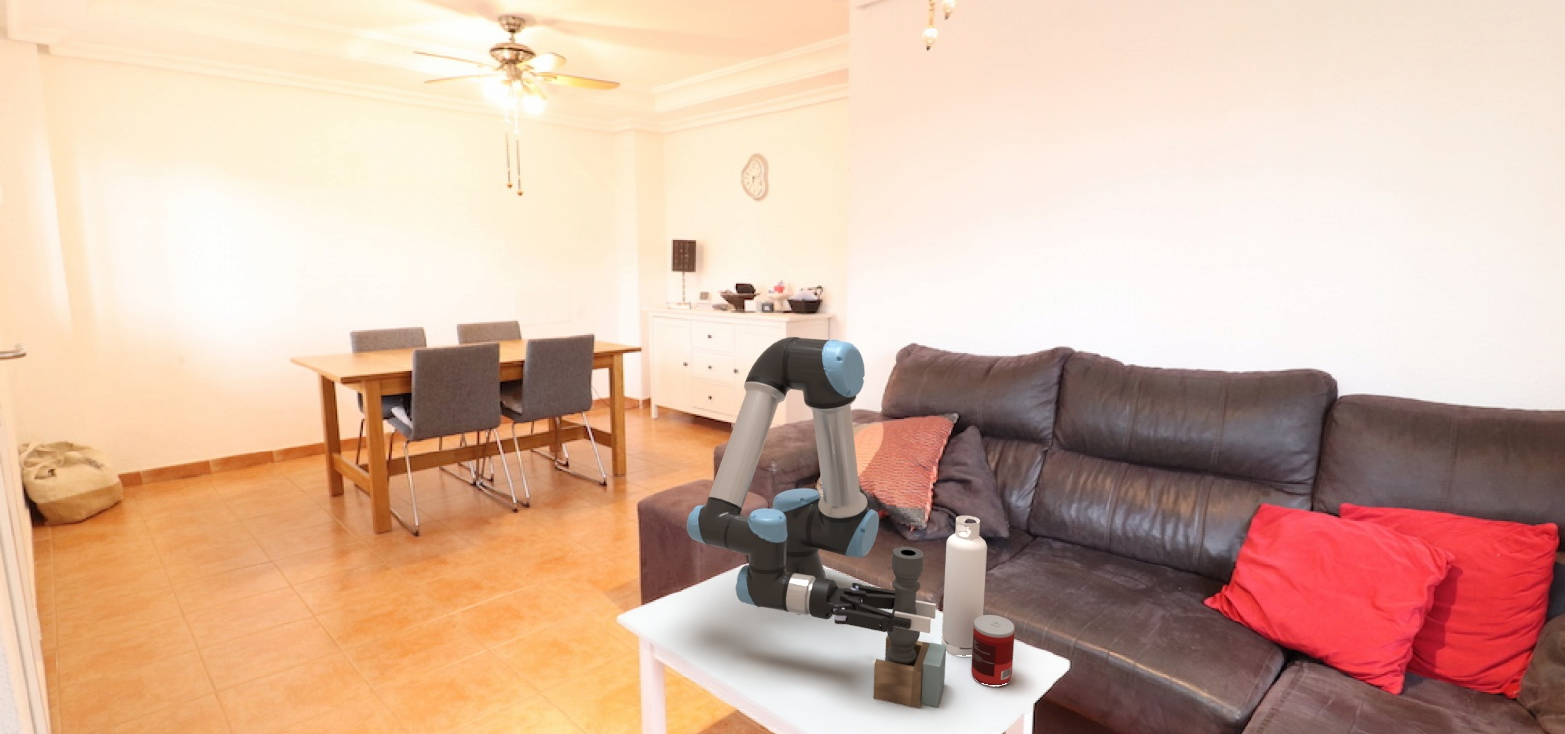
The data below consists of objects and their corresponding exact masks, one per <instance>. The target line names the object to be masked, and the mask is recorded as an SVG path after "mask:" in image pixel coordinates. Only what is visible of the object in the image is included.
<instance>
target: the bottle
mask: <svg viewBox="0 0 1565 734" xmlns="http://www.w3.org/2000/svg"><path fill="white" fill-rule="evenodd" d="M966 520H974V521H975V523H967V522H966ZM980 521H981V520H980V519H979V518H978V517H977V516H972V515H959V516H957V517H955V533H953V534H951V535H950V536H949V537H948V538H947V540H946V543H945V544H946V547H945V567H944V586H943V588H944V589H943V609H942V626H941V627H942V629H941V634H942V636H941V645H946V651H947V652H948V653H947V652H946V653H947V654H949V653H950V655H952V656H954V655H962V656H966V655H972V646H973V628H974V621H975V619H976V618H977V617H979V616H983V615H984V603H985V589H986V588H985V587H986V585H985V584H986V573H987V572H986V570H987V552H988V551H987V550H988V545H987V543H986V540H985V539H983V538H982V536H980V524H981V522H980Z"/></svg>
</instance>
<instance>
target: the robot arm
mask: <svg viewBox="0 0 1565 734" xmlns="http://www.w3.org/2000/svg"><path fill="white" fill-rule="evenodd" d="M865 371H866V370H865V364H864V359H863V355H862V354H861V352H860V351H859V349H858V347H856V346H855V345H854V344H853V343H851V342H848V341H842V340H841V341H840V340H838V339H820V338H819V339H818V338H806V337H799V336H789V337H785V338H781V339H779V340H777V341H775V342H773V343H772V344H771V345H769V346H768V347H767V348H766V349H764V350H763V352H762V353H761V354H760V355H759V356H758V358H757V359H756V360H755V362H754V363H753V365H751V368H750V370H749V372H748V373H747V377H746V379H745V382H744V385H743V388H744V390H745V395H744V398H743V401H742V403H741V406H740V410H739V412H738V414H737V418H736V420H735V421H734V422H735V424H734V426H733V428H732V431H731V434H730V437H729V440H728V442H727V445H726V448H725V450H724V453H723V456H722V459H721V462H720V464H719V468H718V469H717V470H718V471H717V473H716V476H715V478H714V480H713V484H712V487H711V490H710V492H709V496H708V497H707V500H706V503H705V504H703V505H701V504H699V505H696V506H695V507H693V509H692V511H690V513H689V514H688V517H687V520H686V531H687V533H688V536H689V537H690V539H692V540H693V541H696V542H698V543H702V544H704V545H706V546H712V547H716V548H720V549H724V550H729V551H732V552H734V553H739V554H741V555H745V556H748V564H746V565H744V566H742V567H741V568H740V570H739V572H738V574H737V576H736V583H735V593H736V597H737V599H738V600H739V601H740V602H741V603H744V604H748V605H751V606H754V607H757V608H765V609H773V610H778V611H783V612H788V613H793V614H796V615H797V616H801V615H804V616H811V617H812V618H817V619H821V620H830V619H831V618H832V617H833V616H834V624H835V625H848V626H853V627H858V628H862V629H868V630H873V631H877V632H882V633H887V629H888V632H892V631H893V626H894V627H898V628H903V629H909V630H914V631H919V632H920V633H926V634H930V632H931V623H932V622H931V621H932V619H933V620H935V619H936V610H937V609H936V608H937V604H936V603H934V602H927V601H923V600H918V599H916V605H915V607H916V613H917V615H914V614H908V613H903V612H897V611H895V614H894V615H893V613H892V612H890V611H886V610H893V607H894V604H895V589H890V588H889V589H888V588H882V587H876V586H870V585H864V584H861V583H858V582H852V584H851V587H850V588H848V587H844V588H843V587H840V588H839V587H838V585H837V582H836V581H835V580H834V579H831V578H826V573H825V569H824V566H823V562H822V558H821V555H820V553H819V551H820V550H822V551H826V552H830V553H833V554H838V555H843V556H845V557H846V558H848V557H851V558H852V557H853V558H856V559H860V558H861V559H862V558H864V557H865V556H866V555H868V554H869V553H870V551H871V549H872V548H873V545H874V544H875V541H876V537H877V535H878V531H879V525H880V524H879V523H880V518H879V517H880V516H879V513H878V512H877V511H876V510H874V509H869V507H868V499H867V496H866V495H865V494H864V493H862V492H861V490H860V481H859V471H858V462H857V453H856V444H855V435H854V424H853V413H852V404H853V403H855V401H856V399H857V396H858V395H859V394H860V392H861V391H862V389H863V386H864V383H865V380H864V377H865V375H866V374H865ZM790 390H795V391H802V394H803V400H804V401H803V402H804V404H805V406H806V407H808V408H809V409H811V411H812V419H813V426H814V434H815V443H816V448H817V455H818V456H817V457H818V464H819V472H820V482H821V489H822V496H821V494H820V491H819V490H817V489H814V488H794V489H789V490H785V491H782V492H780V493H778V494H777V495H776V496H774V497H773V498H774V499H773V503H772V508H766V507H765V508H764V507H763V508H758V509H755V510H753V511H752V512H750V513H749V515H745V514H741V513H742V509H743V507H744V503H745V501H746V498H747V495H748V493H749V489H750V487H751V483H752V480H753V478H754V475H755V471H756V469H757V466H758V464H759V461H760V457H761V454H762V453H763V449H764V447H765V443H766V440H767V438H768V434H769V431H770V430H771V429H770V428H771V425H772V422H773V420H774V417H775V415H776V411H777V408H778V406H779V404H780V403H782V402H784V401H785V399H786V397H787V393H788V392H789V391H790Z"/></svg>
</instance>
